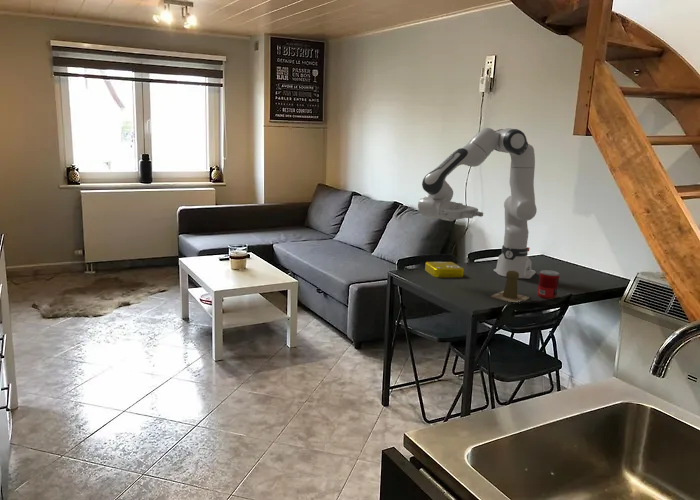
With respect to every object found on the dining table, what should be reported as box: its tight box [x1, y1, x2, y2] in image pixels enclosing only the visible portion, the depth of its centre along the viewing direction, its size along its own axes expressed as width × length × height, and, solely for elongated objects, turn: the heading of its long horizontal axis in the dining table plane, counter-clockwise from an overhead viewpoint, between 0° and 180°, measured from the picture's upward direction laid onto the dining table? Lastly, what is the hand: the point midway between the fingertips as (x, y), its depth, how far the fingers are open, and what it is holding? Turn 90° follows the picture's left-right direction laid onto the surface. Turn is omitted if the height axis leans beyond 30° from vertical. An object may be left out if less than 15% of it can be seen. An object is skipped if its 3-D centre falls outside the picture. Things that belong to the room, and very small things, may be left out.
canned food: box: [536, 269, 560, 300], centre depth 249 cm, size 8×8×11 cm
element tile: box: [424, 261, 465, 278], centre depth 280 cm, size 15×15×5 cm
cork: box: [503, 271, 520, 299], centre depth 244 cm, size 6×6×11 cm
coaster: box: [490, 290, 530, 303], centre depth 245 cm, size 12×12×1 cm
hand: (477, 215), depth 254 cm, fingers open, 8 cm apart
